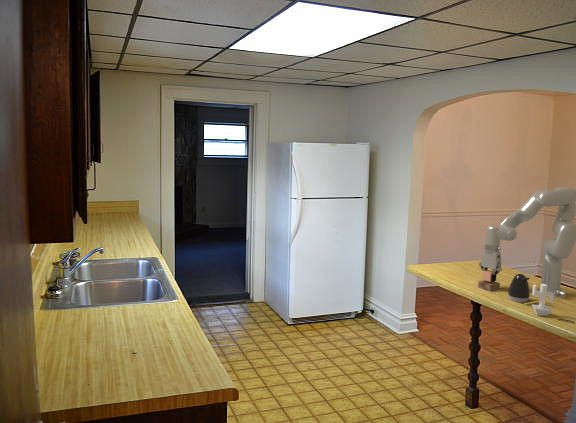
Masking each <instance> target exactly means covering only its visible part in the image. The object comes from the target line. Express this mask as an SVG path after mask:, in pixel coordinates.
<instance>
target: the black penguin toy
mask: <svg viewBox="0 0 576 423" xmlns="http://www.w3.org/2000/svg"><path fill="white" fill-rule="evenodd" d="M529 280H530V277H526V275H524V274H523V273H517V274H515V276H514V277H513V278H512V280H511V283H510V285H509V288H508V293H507V295H508V297H509V299H510V300H511V301H512V302H515V303H519V304H525V303H527V301H529V298H530V297H531V296H530V295H531V292H530V285H529V282H528V281H529Z"/></svg>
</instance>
